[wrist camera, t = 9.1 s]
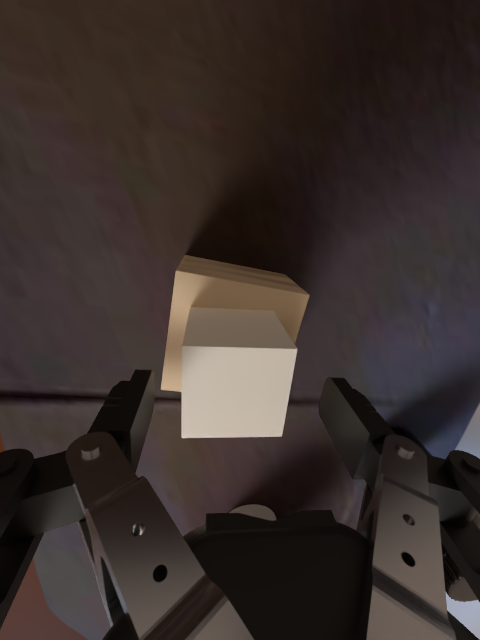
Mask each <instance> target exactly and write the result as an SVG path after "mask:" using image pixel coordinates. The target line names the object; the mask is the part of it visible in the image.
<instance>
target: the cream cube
mask: <svg viewBox="0 0 480 640" xmlns="http://www.w3.org/2000/svg"><path fill="white" fill-rule="evenodd" d="M296 354H297V348H296V346H295V344H294V343H293V341H292V340H291V338H290V336H289V335H288V333H287V332H286V330H285V329H284V327H283V325H282V324H281V322H280V321H279V319H278V317H277V316H276V314H275V313H274V311H272V310H249V309H226V308H203V307H190V310H189V315H188V320H187V324H186V329H185V334H184V338H183V343H182V438H216V437H282V433H283V427H284V422H285V416H286V410H287V405H288V399H289V393H290V388H291V382H292V377H293V371H294V365H295V360H296Z"/></svg>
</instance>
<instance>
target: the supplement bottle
mask: <svg viewBox="0 0 480 640" xmlns="http://www.w3.org/2000/svg"><path fill="white" fill-rule="evenodd" d="M391 429H392V430H393V432H394V433H395V434H396V435H400V436H404V437H406V438H408V439H410V440H412V441H413V442H415V443H416V444H417V445H419V446H420V447H421V448H422V449H423V451H424V452H425V454H426V455H430V456H432V455H431V454H430V453H429V452H428V451H427V449H426V448H425V447H424V446H423V445H422V444H421V443H420V442H419V440H418V439H417V438H416V437H415V436H414V435H413V434H412V433H410V432H409V431H407V430H404V429H401V428H391ZM472 520H473V521H474V523H475V524H476V525H477V527H478V528H479V529H480V514H479V513H478V512H477V513H476V515H475V516H474V518H473V519H472ZM441 547H442V558H443V570H444V581H445V591H446V592H447V594H448V595H449V597H451V599H454V600H455V601H463V602H465V601H473V600H478V599H477V597H476V596H475V594H474V592H473V591H472V589H471V588H470V586H469V585H468V583H467V581H466V580H465V578H464V577H463V575H462V574H461V572H460V570H459V569H458V567H457V566H456V564H455V563H454V561H453V559H452V558H451V556H450V555H449V553H448V552H447V550H446V548H445V547H444V545H443V544H442V542H441Z"/></svg>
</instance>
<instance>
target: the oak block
mask: <svg viewBox="0 0 480 640" xmlns="http://www.w3.org/2000/svg"><path fill="white" fill-rule="evenodd" d="M309 296H310V295H309V294H308V293H307V292H305V291H304V290H303V289H302V288H301V287H299V286H298V285H297V284H296V283H295V282H294V281H292V280H291V279H290V278H289V277H288V276H287V275H285V274H281V273H276V272H270V271H265V270H260V269H255V268H250V267H245V266H240V265H234V264H229V263H224V262H219V261H214V260H209V259H203V258H198V257H193V256H188V255H185V256H184V257H183V259H182V261H181V263H180V264H179V266H178V268H177V270H176V274H175V282H174V290H173V297H172V305H171V313H170V321H169V329H168V337H167V345H166V353H165V360H164V368H163V376H162V384H161V390H170V391H179V392H182V343H183V338H184V334H185V329H186V324H187V320H188V315H189V310H190V307H203V308H226V309H249V310H272V311H274V313H275V314H276V316H277V317H278V319H279V321H280V322H281V324H282V325H283V327H284V329H285V330H286V332H287V333H288V335H289V336H290V338H291V340H292V341H293V343H294V344H295V341H296V337H297V334H298V331H299V328H300V325H301V321H302V318H303V315H304V312H305V309H306V305H307V302H308V299H309Z"/></svg>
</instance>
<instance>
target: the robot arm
mask: <svg viewBox="0 0 480 640" xmlns="http://www.w3.org/2000/svg"><path fill="white" fill-rule="evenodd" d="M153 408H154V371H153V370H135V371H134V374H133V376H132V378H131V380H130V381H120V382H119V383H118V384H117V385H115V386H114V387H113V388H112V389H111V391H110V393H109V395H108V397H107V399H106V400H105V402H104V404H103V406H102V408H101V409H100V411H99V413H98V415H97V417H96V419H95V420H94V422H93V424H92V426H91V428H90V430H89V431H88V433H87V434H85V435H83V436H81V437H79V438H78V439H76V440H75V441H74V442H73V443H71V445H70V446H69V447H68V449H67V450H66V451H63V452H61V453H57V454H53V455H49V456H45V457H40V458H36V459H34V457H33V454H32V453H31V452H30V451H28V450H26V449H11V450H7V451H4V452H1V453H0V629H1V627H2V624H3V622H4V620H5V618H6V616H7V613H8V611H9V609H10V607H11V605H12V602H13V600H14V598H15V596H16V593H17V591H18V589H19V587H20V585H21V583H22V580H23V578H24V576H25V574H26V572H27V569H28V567H29V565H30V563H31V561H32V558H33V556H34V554H35V552H36V550H37V547H38V545H39V543H40V541H41V539H42V536H43V534H44V532H47V531H50V530H52V529H55V528H58V527H61V526H64V525H67V524H70V523H73V522H76V521H77V522H78V525H79V528H80V531H81V534H82V536H83V539H84V542H85V545H86V548H87V551H88V554H89V557H90V560H91V563H92V565H93V568H94V571H95V575H96V578H97V582H98V586H99V590H100V594H101V597H102V600H103V604H104V607H105V610H106V613H107V616H108V618H109V621H110V624H111V628H110V630H109V631H108V632H107V634H106V635H105V637H104V638H103V639H102V640H479V639H478V638H477V637H475V636H474V634H473V633H471V632H470V631H469V630H468V629H467V628H466V627H465V626H464V625H463V624H461V623H460V622H459V621H458V620H457V619H456V618H455V617H454V616H452V615H451V614H450V613H449V612H448V611H447V605H446V593H445V581H444V570H443V558H442V547H441V542H442V544H443V545H444V547H445V548H446V550H447V552H448V553H449V555H450V556H451V558H452V559H453V561H454V563H455V564H456V566H457V567H458V569H459V570H460V572H461V574H462V575H463V577H464V578H465V580H466V581H467V583H468V585H469V586H470V588H471V589H472V591H473V592H474V594H475V596H476V597H477V599H478V600H479V602H480V529H479V528H478V527H477V525H476V524H475V523H474V521H473V520H472V519H473V518H474V516H475V515H476V513H477V512H478V513H479V514H480V459H479V458H477V457H476V456H473V455H471V454H469V453H467V452H464V451H459V450H453V451H451V452H450V453H449V455H448V456H447V458H446V459H442V458H438V457H434V456H430V455H426V454H425V452H424V451H423V449H422V448H421V447H420V446H419V445H417V444H416V443H415V442H413V441H412V440H410V439H408V438H406V437H404V436H400V435H396V434H395V433H394V432H393V430H392V429H391V428H390V427H389V426H388V424H387V423H386V422H385V421H384V419H383V418H382V417H381V416H380V414H379V413H378V412H376V410H375V408H374V407H373V406H371V403H370V402H369V401H368V400H367V398H366V397H365V396H364V395H362V394H361V393H360V392H358V391H357V390H356V389H352V387H351V386H350V385H349V383H348V382H347V381H346V380H345V379H344V378H330V377H328V378H327V379H326V380H325V383H324V387H323V391H322V395H321V398H320V402H319V414H320V417H321V419H322V421H323V423H324V425H325V427H326V429H327V431H328V433H329V435H330V436H331V438H332V440H333V442H334V444H335V446H336V448H337V450H338V452H339V454H340V456H341V458H342V460H343V462H344V463H345V465H346V467H347V469H348V471H349V473H350V475H351V477H352V479H365V481H366V483H367V484H366V487H365V489H364V494H363V500H362V505H361V510H360V515H359V520H358V525H357V530H354V529H352V528H350V527H348V526H346V525H344V524H341V523H338V522H336V521H335V518H334V516H333V513H332V511H331V510H315V511H300V512H297V513H294V514H292V515H289V516H286V517H283V518H280V519H277V520H273V521H271V520H266V519H262V518H258V517H254V516H250V515H246V514H242V513H214V514H206V524H205V526H202V527H199V528H197V529H195V530H193V531H191V532H189V533H188V534H186V535H185V536H182V535H181V533H180V531H179V530H178V528H177V527H176V525H175V523H174V522H173V520H172V519H171V517H170V515H169V514H168V512H167V511H166V509H165V507H164V506H163V504H162V503H161V501H160V499H159V498H158V496H157V495H156V493H155V491H154V490H153V488H152V487H151V485H150V483H149V482H148V480H147V479H146V478H145V477H144V476H142V477H140V478H138V477H137V476H136V474H135V473H136V469H137V466H138V462H139V459H140V455H141V452H142V448H143V445H144V441H145V438H146V434H147V431H148V427H149V424H150V420H151V417H152V413H153Z"/></svg>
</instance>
